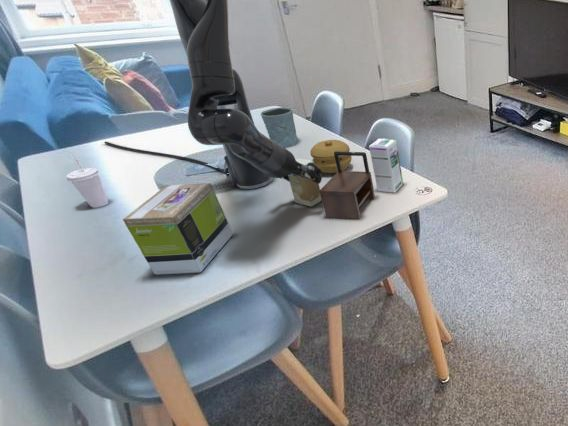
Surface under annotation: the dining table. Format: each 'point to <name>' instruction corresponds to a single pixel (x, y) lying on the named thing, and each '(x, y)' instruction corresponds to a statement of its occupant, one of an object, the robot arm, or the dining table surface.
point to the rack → (347, 190)
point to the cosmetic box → (305, 187)
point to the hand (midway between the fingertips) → (306, 179)
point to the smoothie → (88, 185)
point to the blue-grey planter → (280, 126)
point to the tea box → (179, 228)
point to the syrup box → (386, 165)
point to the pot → (330, 155)
